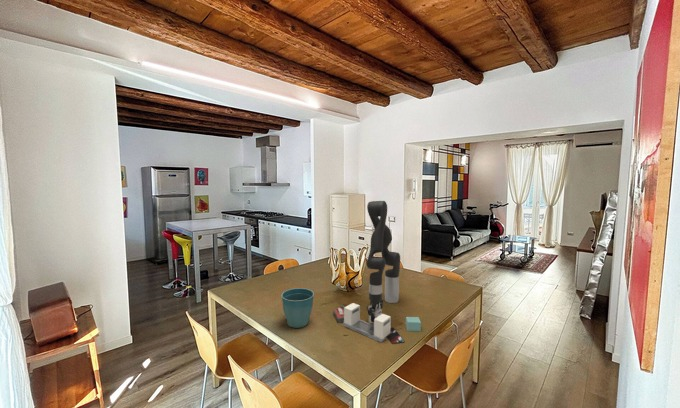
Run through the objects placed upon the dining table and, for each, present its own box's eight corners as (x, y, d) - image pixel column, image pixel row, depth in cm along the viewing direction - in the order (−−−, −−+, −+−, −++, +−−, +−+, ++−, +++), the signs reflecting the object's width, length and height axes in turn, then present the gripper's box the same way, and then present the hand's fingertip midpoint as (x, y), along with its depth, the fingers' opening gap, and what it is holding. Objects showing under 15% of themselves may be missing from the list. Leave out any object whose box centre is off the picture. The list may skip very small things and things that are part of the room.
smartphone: (393, 327, 158) (405, 342, 143) (393, 328, 158) (405, 343, 144) (381, 328, 156) (391, 343, 142) (381, 329, 157) (391, 345, 142)
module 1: (352, 317, 166) (352, 302, 165) (359, 320, 163) (359, 305, 162) (343, 323, 160) (344, 307, 159) (351, 326, 157) (351, 310, 156)
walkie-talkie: (352, 322, 164) (343, 306, 183) (353, 315, 163) (343, 299, 182) (338, 325, 161) (330, 308, 181) (338, 317, 161) (330, 301, 180)
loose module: (372, 319, 167) (372, 306, 166) (381, 322, 163) (381, 309, 162) (368, 322, 164) (368, 308, 163) (377, 325, 160) (377, 311, 159)
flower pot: (299, 312, 176) (298, 285, 174) (320, 321, 164) (320, 293, 163) (275, 323, 162) (274, 294, 160) (297, 335, 150) (296, 303, 149)
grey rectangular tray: (353, 319, 167) (353, 316, 167) (391, 334, 151) (391, 331, 151) (342, 325, 160) (342, 323, 159) (381, 342, 143) (381, 339, 143)
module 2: (382, 329, 153) (382, 313, 153) (390, 333, 150) (390, 316, 149) (373, 335, 147) (374, 319, 147) (382, 339, 144) (382, 322, 143)
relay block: (405, 325, 161) (418, 325, 160) (407, 331, 155) (420, 331, 154) (405, 316, 160) (418, 317, 160) (407, 322, 154) (420, 322, 154)
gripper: (376, 286, 170) (376, 313, 171) (362, 293, 159) (362, 322, 160) (387, 289, 165) (387, 317, 166) (374, 297, 154) (373, 327, 156)
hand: (375, 320), depth 163 cm, fingers closed on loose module, 4 cm apart
